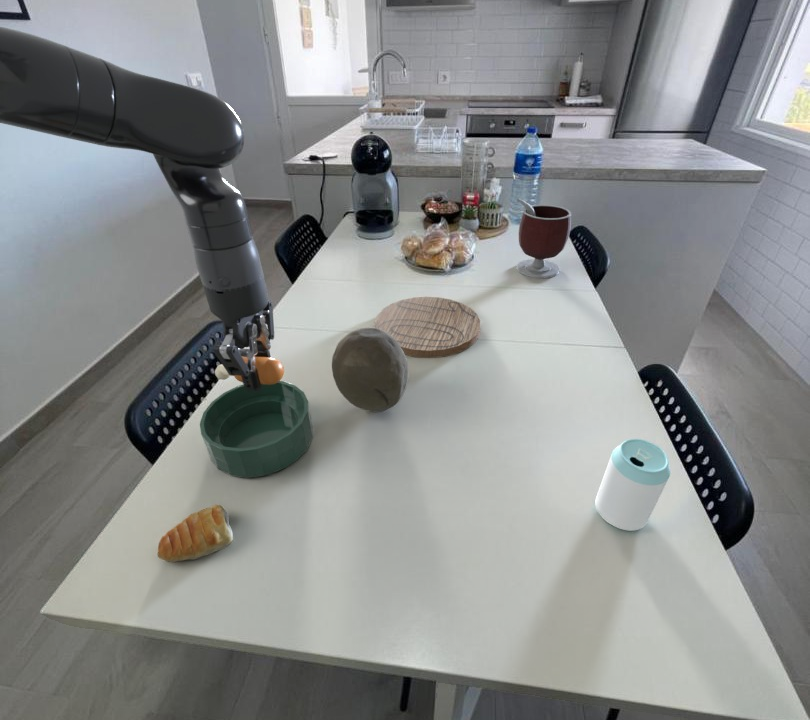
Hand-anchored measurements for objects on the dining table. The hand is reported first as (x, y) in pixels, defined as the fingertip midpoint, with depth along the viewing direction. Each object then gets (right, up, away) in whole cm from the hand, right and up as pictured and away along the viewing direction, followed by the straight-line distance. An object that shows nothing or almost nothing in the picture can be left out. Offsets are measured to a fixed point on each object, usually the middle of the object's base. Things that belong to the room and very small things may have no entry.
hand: (260, 379), depth 67 cm
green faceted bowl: (-3, -11, +11) cm, 16 cm away
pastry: (-6, -22, -5) cm, 24 cm away
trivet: (+27, +10, +40) cm, 50 cm away
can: (+53, -19, -2) cm, 56 cm away
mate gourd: (+61, +30, +67) cm, 95 cm away
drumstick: (-1, 0, 0) cm, 1 cm away
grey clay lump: (+16, -5, +19) cm, 25 cm away
